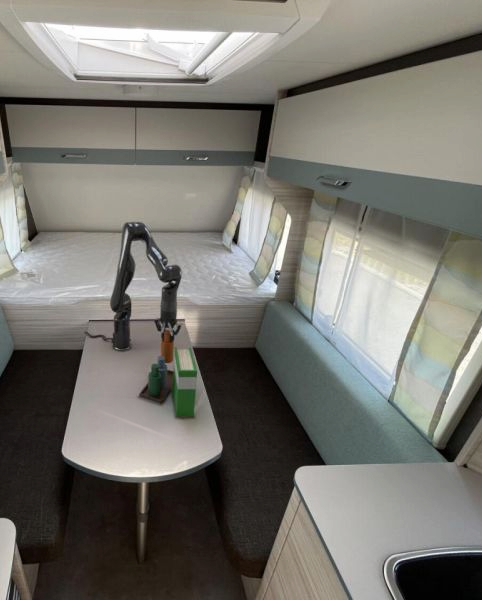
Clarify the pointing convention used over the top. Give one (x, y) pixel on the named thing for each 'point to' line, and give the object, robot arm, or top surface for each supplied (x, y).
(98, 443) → the top surface
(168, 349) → the amber bottle
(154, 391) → the green bottle
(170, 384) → the tray
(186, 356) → the hardback book
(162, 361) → the slate bottle
